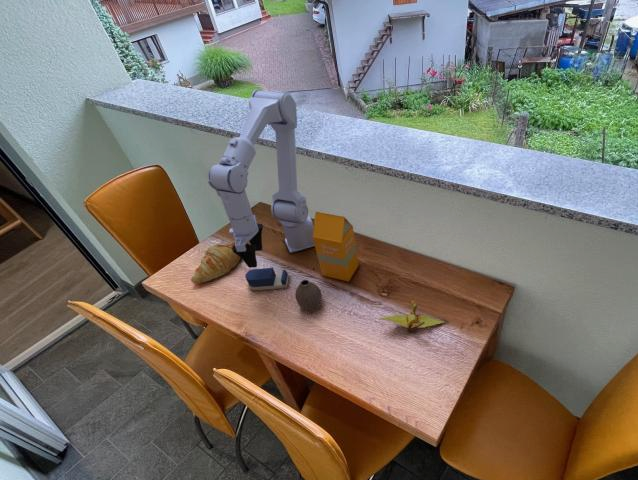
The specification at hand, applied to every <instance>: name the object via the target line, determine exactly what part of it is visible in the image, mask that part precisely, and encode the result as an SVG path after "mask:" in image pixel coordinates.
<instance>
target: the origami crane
mask: <svg viewBox="0 0 638 480" xmlns="http://www.w3.org/2000/svg"><path fill="white" fill-rule="evenodd" d="M410 305H411V306H412V309H411V311H410V314H407V315H405V314H402V313H401V314H400V313H399V314H393V315H390V316H385V317H384V316H383V317H379V320H381V321H386V322H390V323H393V324H397V325H399V326H402V327H404V328H408V329H409V331H410V332H415V331H416V330H418V329H421V328H426V327H431V326H432V327H433V326H436V325H440V324H446V321H444V320H441V319H438V318H437V317H433V316H431V315H427V314H424V313H421V314H416V311H417V309H418V302H417V303H416V301H414V300H413V299H412V300H410Z"/></svg>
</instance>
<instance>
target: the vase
mask: <svg viewBox="0 0 638 480" xmlns="http://www.w3.org/2000/svg"><path fill="white" fill-rule="evenodd" d="M294 293H295V294H294V295H295V301H296V303H297V305H298V306H299V307H300V308H301V309H302V310H305V311H314V310H317V309H318V308H319V307H320V306H321V304H322V303H323V293H322V290H321V289H320V287H319V286H318V285H317V284H316V283H314V282H312V281H310V280H309V279H302V280H301V281H300V282H299V284H298V286H297V287H296V289H295V292H294Z"/></svg>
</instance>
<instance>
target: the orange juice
mask: <svg viewBox="0 0 638 480" xmlns="http://www.w3.org/2000/svg"><path fill="white" fill-rule="evenodd" d="M313 226H314V231H313V240H314V244H315V246H314V249H315V251H316V257H317V261H318V264H319V267H320V271H321V276H323V277H328V278H332V279H335V280H341V281H344V282H350V281H351V279H352V277H353V275H354V274H355V272H356V271H357V269H358V268H359V259H358V252H357V250H358V249H357V243H356V238H355V233H354V232H355V231H354V226H353V224H351V223H350V221H348V219H347V218H346V217H345V216H341V215H337V214H332V213H331V214H330V213H325V212H320V211H315V214H314V222H313Z"/></svg>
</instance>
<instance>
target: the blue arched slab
mask: <svg viewBox="0 0 638 480" xmlns="http://www.w3.org/2000/svg"><path fill="white" fill-rule="evenodd" d="M244 275H245V276H244V277H245V279H246V281H247V284H248V286H249V288H250V289H251V290H252V291H263V290H275V289H276V290H277V289H287V288H288V284H289V278H290V276H289V274H288V271H287V269H283V270H282V272H281V274H276V271H275V269H274V267H264V268H253V269H250V270H248V271H247V272H246V273H245V274H244Z"/></svg>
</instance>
